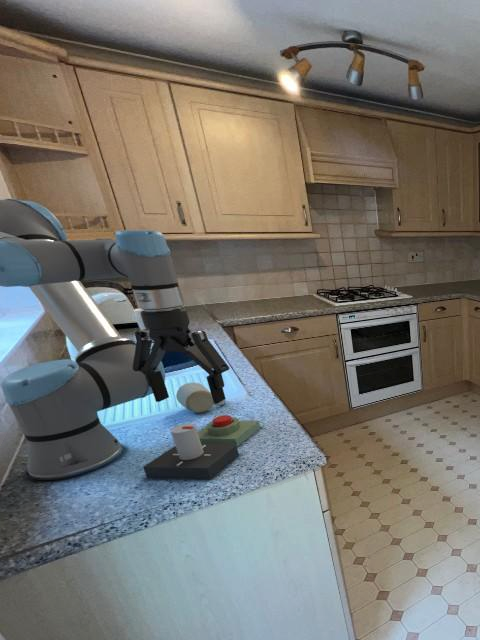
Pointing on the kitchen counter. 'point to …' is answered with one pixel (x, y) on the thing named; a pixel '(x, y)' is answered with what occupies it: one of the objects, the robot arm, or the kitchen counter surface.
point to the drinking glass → (139, 319)
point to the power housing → (228, 432)
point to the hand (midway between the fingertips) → (191, 400)
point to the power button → (222, 421)
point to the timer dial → (187, 441)
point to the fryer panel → (192, 463)
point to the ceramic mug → (195, 397)
